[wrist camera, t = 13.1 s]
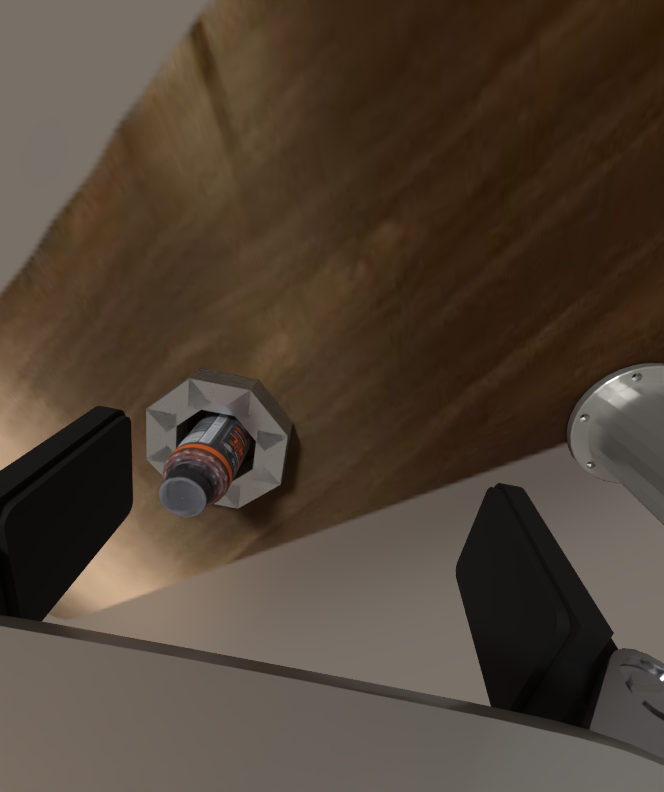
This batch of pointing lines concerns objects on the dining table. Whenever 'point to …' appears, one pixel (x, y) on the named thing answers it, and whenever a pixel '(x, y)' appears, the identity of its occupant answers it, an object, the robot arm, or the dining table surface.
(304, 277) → the dining table surface
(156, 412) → the grey octagonal ring
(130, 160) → the dining table surface
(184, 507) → the supplement bottle
